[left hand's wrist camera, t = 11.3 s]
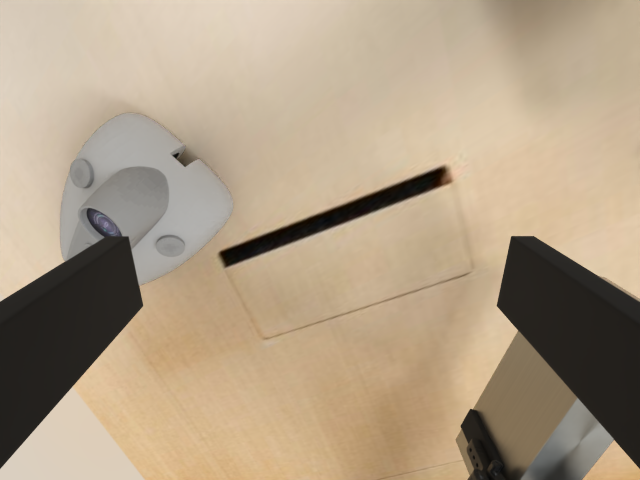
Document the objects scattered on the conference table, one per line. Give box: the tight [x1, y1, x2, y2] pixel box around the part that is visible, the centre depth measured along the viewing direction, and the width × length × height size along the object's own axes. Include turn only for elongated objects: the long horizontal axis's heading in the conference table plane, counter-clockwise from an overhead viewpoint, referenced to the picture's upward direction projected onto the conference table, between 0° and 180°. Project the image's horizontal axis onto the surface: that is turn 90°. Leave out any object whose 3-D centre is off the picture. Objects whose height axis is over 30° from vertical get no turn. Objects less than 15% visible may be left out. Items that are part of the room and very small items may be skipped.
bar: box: [456, 276, 640, 480], centre depth 34 cm, size 24×5×9 cm, turn 165°
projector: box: [60, 113, 233, 286], centre depth 38 cm, size 22×23×15 cm
